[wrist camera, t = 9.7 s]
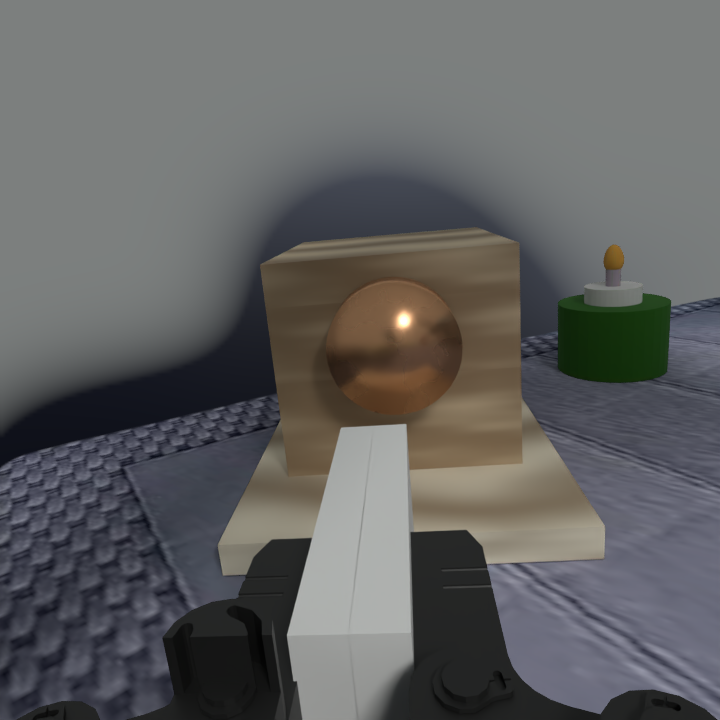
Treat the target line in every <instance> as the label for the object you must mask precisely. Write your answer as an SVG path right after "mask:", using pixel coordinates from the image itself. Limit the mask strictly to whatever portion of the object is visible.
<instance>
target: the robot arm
mask: <svg viewBox="0 0 720 720" xmlns="http://www.w3.org/2000/svg"><path fill="white" fill-rule="evenodd" d="M245 578H246V579H245V581H244V582H243V584H242V586H241V589H240V591H239V597H238V598H237V599H228V600H222V601H216V602H211V603H209V604H206V605H204V606H201V607H199V608H196V609H194V610H192V611H190V612H189V613H187V614H186V615H185V616H183V617H182V618H180V619H179V620H177V621H176V622H175V623H174V624H173V625H172V626H171V628H170V629H169V630H168V631H167V633H166V634H165V635H164V636H163V643H164V647H165V652H166V657H167V661H168V666H169V671H170V676H171V680H172V685H173V690H174V696H173V699H172V701H171V703H170V704H169V705H167V706H165V707H163V708H161V709H158V710H156V711H153V712H150V713H148V714H145V715H141V716H138V717H134V718H131V719H127V720H717V719H716V718H715V717H714V716H712V715H711V714H710V713H709V712H708V711H707V710H705V709H704V708H702V707H700V706H698V705H696V704H694V703H692V702H690V701H688V700H686V699H684V698H682V697H680V696H677V695H673V694H669V693H665V692H661V691H656V690H635V691H628V692H626V693H624V694H621V695H619V696H617V697H615V698H613V699H611V700H610V702H609V703H608V704H607V706H606V707H605V709H604V710H603V711H602V713H601V715H600V714H597V713H593V712H589V711H585V710H581V709H577V708H574V707H570V706H567V705H564V704H561V703H558V702H556V701H553V700H550V699H548V698H547V697H545V696H543V695H541V694H540V693H538V692H536V691H534V690H533V689H532V688H531V687H530V686H529V685H527V684H526V683H525V682H524V681H523V680H522V679H521V678H520V677H519V675H518V674H517V673H516V671H515V670H514V669H513V667H512V664H511V662H510V659H509V657H508V654H507V649H506V645H505V641H504V637H503V632H502V628H501V624H500V619H499V615H498V611H497V607H496V602H495V598H494V594H493V589H492V587H491V581H490V576H489V572H488V570H487V564H486V559H485V555H484V551H483V546H482V545H481V544H480V543H479V542H478V541H477V540H476V539H475V538H474V537H473V536H472V535H471V534H470V533H469V532H468V531H467V530H448V531H423V532H414V525H413V511H412V497H411V483H410V469H409V455H408V441H407V427H406V424H397V425H379V426H361V427H343V428H341V430H340V433H339V437H338V441H337V445H336V449H335V453H334V457H333V460H332V464H331V468H330V472H329V476H328V480H327V483H326V487H325V491H324V495H323V499H322V503H321V507H320V510H319V514H318V518H317V522H316V526H315V530H314V533H313V537H312V538H296V539H272V540H271V541H270V542H269V543H267V544H266V545H265V546H264V547H263V548H262V549H261V550H260V551H259V552H258V553H257V554H256V555H255V556H254V557H253V560H252V562H251V564H250V567H249V569H248V572H247V574H246V577H245ZM17 720H100V718H99V716H98V714H97V712H96V709H95V708H93V707H91V706H89V705H87V704H85V703H83V702H77V701H61V702H57V703H54V704H50V705H46V706H43V707H39V708H37V709H35V710H34V711H32V712H30V713H28V714H26V715H24V716H22V717H20V718H18V719H17Z"/></svg>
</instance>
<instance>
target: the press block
mask: <svg viewBox="0 0 720 720" xmlns="http://www.w3.org/2000/svg"><path fill="white" fill-rule="evenodd" d="M260 267H261V275H262V283H263V290H264V298H265V305H266V313H267V319H268V327H269V334H270V341H271V349H272V356H273V365H274V371H275V380H276V387H277V395H278V402H279V409H280V417H281V420H280V422H279V424H278V426H277V428H276V430H275V432H274V434H273V436H272V438H271V440H270V442H269V444H268V446H267V448H266V450H265V452H264V454H263V456H262V458H261V460H260V462H259V464H258V466H257V468H256V470H255V472H254V474H253V476H252V478H251V480H250V482H249V484H248V486H247V488H246V490H245V492H244V494H243V496H242V498H241V500H240V502H239V504H238V506H237V508H236V510H235V512H234V514H233V516H232V517H231V519H230V521H229V523H228V525H227V527H226V529H225V531H224V533H223V535H222V537H221V539H220V541H219V543H218V550H219V556H220V562H221V567H222V573H223V576H226V575H246V574H247V572H248V569H249V567H250V564H251V562H252V560H253V557H254V556H255V555H256V554H257V553H258V552H259V551H260V550H261V549H262V548H263V547H264V546H265V545H266V544H267V543H269V542H270V541H271V540H272V539H296V538H312V537H313V533H314V530H315V526H316V522H317V518H318V514H319V510H320V507H321V503H322V499H323V495H324V491H325V487H326V483H327V480H328V476H329V472H330V468H331V464H332V460H333V457H334V453H335V449H336V445H337V441H338V437H339V433H340V430H341V428H343V427H361V426H379V425H397V424H406V427H407V441H408V455H409V469H410V483H411V497H412V511H413V525H414V532H423V531H448V530H467V531H468V532H469V533H470V534H471V535H472V536H473V537H474V538H475V539H476V540H477V541H478V542H479V543H480V544H481V545H482V546H483V551H484V555H485V559H486V564H500V563H523V562H546V561H569V560H592V559H604V550H605V526H604V524H603V523H602V521H601V519H600V518H599V516H598V515H597V513H596V512H595V510H594V509H593V507H592V505H591V504H590V502H589V501H588V499H587V498H586V496H585V495H584V493H583V492H582V490H581V488H580V487H579V485H578V484H577V482H576V481H575V479H574V478H573V476H572V474H571V473H570V471H569V470H568V468H567V467H566V465H565V464H564V462H563V460H562V459H561V457H560V456H559V454H558V453H557V451H556V450H555V448H554V447H553V445H552V443H551V442H550V440H549V439H548V437H547V436H546V434H545V433H544V431H543V429H542V428H541V426H540V425H539V423H538V422H537V420H536V419H535V417H534V416H533V414H532V412H531V411H530V409H529V408H528V406H527V405H526V403H525V402H524V400H523V398H522V396H521V334H520V333H521V332H520V274H519V273H520V270H519V243H518V242H515V241H513V240H510V239H507V238H504V237H501V236H499V235H496V234H493V233H490V232H488V231H485V230H482V229H479V228H477V227H475V228H464V229H452V230H440V231H429V232H419V233H406V234H396V235H383V236H372V237H361V238H349V239H338V240H326V241H315V242H305V243H302V244H300V245H298V246H296V247H294V248H292V249H290V250H288V251H286V252H284V253H282V254H280V255H278V256H276V257H275V258H273V259H271V260H269V261H267V262H265V263H263V264H261V265H260ZM385 277H403V278H409V279H413V280H416V281H418V282H421V283H423V284H425V285H427V286H428V287H430V288H431V289H433V290H434V291H435V292H437V293H438V294H439V295H440V296H441V297H442V298H443V300H444V301H445V302H446V303H447V305H448V307H449V308H450V310H451V312H452V314H453V316H454V318H455V319H456V322H457V324H458V327H459V329H460V333H461V337H462V345H463V350H462V360H461V365H460V368H459V372H458V374H457V376H456V378H455V380H454V382H453V383H452V385H451V386H450V388H449V389H448V390H447V391H446V393H445V394H444V395H443V396H441V397H440V398H439V399H438V400H437V401H435V402H434V403H433V404H431V405H429V406H427V407H426V408H424V409H421V410H419V411H416V412H412V413H408V414H401V415H387V414H380V413H376V412H372V411H370V410H367V409H365V408H363V407H361V406H359V405H357V404H356V403H354V402H353V401H352V400H350V399H349V398H348V397H347V396H346V395H345V394H344V393H343V392H342V391H341V390H340V388H339V387H338V386H337V384H336V383H335V381H334V379H333V377H332V375H331V373H330V370H329V367H328V363H327V357H326V342H327V336H328V331H329V328H330V326H331V323H332V321H333V319H334V317H335V315H336V313H337V311H338V309H339V307H340V306H341V304H342V303H343V301H344V300H345V299H346V298H347V297H348V296H349V295H350V294H351V293H352V292H353V291H354V290H356V289H357V288H359V287H360V286H362V285H364V284H366V283H368V282H370V281H373V280H376V279H380V278H385Z"/></svg>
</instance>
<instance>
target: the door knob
mask: <svg viewBox="0 0 720 720" xmlns="http://www.w3.org/2000/svg"><path fill="white" fill-rule="evenodd" d="M462 350H463V345H462V337H461V333H460V329H459V327H458V324H457V322H456V319H455V318H454V316H453V314H452V312H451V310H450V308H449V307H448V305H447V303H446V302H445V301H444V300H443V298H442V297H441V296H440V295H439V294H438V293H437V292H435V291H434V290H433V289H431V288H430V287H428V286H427V285H425V284H423V283H421V282H418V281H416V280H413V279H409V278H403V277H385V278H380V279H376V280H373V281H370V282H368V283H366V284H364V285H362V286H360V287H359V288H357V289H356V290H354V291H353V292H352V293H351V294H350V295H349V296H348V297H347V298H346V299H345V300H344V301H343V303H342V304H341V306H340V307H339V309H338V311H337V313H336V315H335V317H334V319H333V321H332V323H331V326H330V328H329V331H328V336H327V342H326V357H327V363H328V367H329V370H330V373H331V375H332V377H333V379H334V381H335V383H336V384H337V386H338V387H339V388H340V390H341V391H342V392H343V393H344V394H345V395H346V396H347V397H348V398H349V399H350V400H352V401H353V402H354V403H356V404H357V405H359V406H361V407H363V408H365V409H367V410H370V411H372V412H376V413H380V414H387V415H401V414H408V413H412V412H416V411H419V410H421V409H424V408H426V407H427V406H429V405H431V404H433V403H434V402H435V401H437V400H438V399H439V398H440V397H441V396H443V395H444V394H445V393H446V391H447V390H448V389H449V388H450V386H451V385H452V383H453V382H454V380H455V378H456V376H457V374H458V372H459V368H460V365H461V360H462Z"/></svg>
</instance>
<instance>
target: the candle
mask: <svg viewBox="0 0 720 720" xmlns="http://www.w3.org/2000/svg"><path fill="white" fill-rule="evenodd" d="M623 264H624V255H623V252H622V250H621V249H620V247H619V246H617V245H612V246H610V247H609V248H608V249H607V251H606V253H605V257H604V267H605V268H606V282H598V283H591V284H587V285H585V286H584V295H577V296H572V297H568V298H564V299H562V300H560V301H559V302H558V369H559V370H560V371H561V372H562V373H564V374H566V375H569V376H571V377H575V378H578V379H583V380H588V381H596V382H609V383H626V382H639V381H646V380H651V379H654V378H658V377H660V376H662V375H664V374H665V373H666V372H667V367H668V349H669V331H670V312H671V300H670V299H668V298H666V297H662V296H657V295H652V294H644V293H643V285H642V284H641V283H637V282H626V281H621V268H622V266H623Z"/></svg>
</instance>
